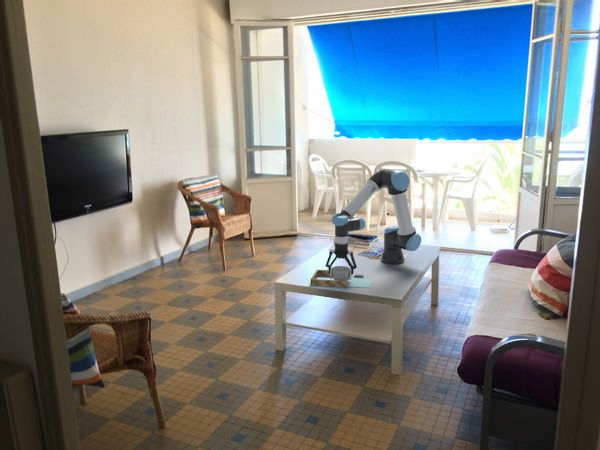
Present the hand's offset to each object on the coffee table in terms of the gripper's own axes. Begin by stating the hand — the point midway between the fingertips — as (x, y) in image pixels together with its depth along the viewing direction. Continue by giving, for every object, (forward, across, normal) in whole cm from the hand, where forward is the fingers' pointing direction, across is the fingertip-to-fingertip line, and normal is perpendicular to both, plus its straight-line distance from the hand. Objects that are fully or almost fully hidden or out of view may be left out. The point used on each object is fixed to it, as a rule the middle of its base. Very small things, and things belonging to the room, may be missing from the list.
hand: (340, 278), depth 310 cm
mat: (+2, -11, 0) cm, 11 cm away
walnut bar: (+2, +6, -16) cm, 17 cm away
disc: (+2, -9, -12) cm, 15 cm away
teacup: (+2, 0, 0) cm, 2 cm away
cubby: (+2, +6, 0) cm, 6 cm away
